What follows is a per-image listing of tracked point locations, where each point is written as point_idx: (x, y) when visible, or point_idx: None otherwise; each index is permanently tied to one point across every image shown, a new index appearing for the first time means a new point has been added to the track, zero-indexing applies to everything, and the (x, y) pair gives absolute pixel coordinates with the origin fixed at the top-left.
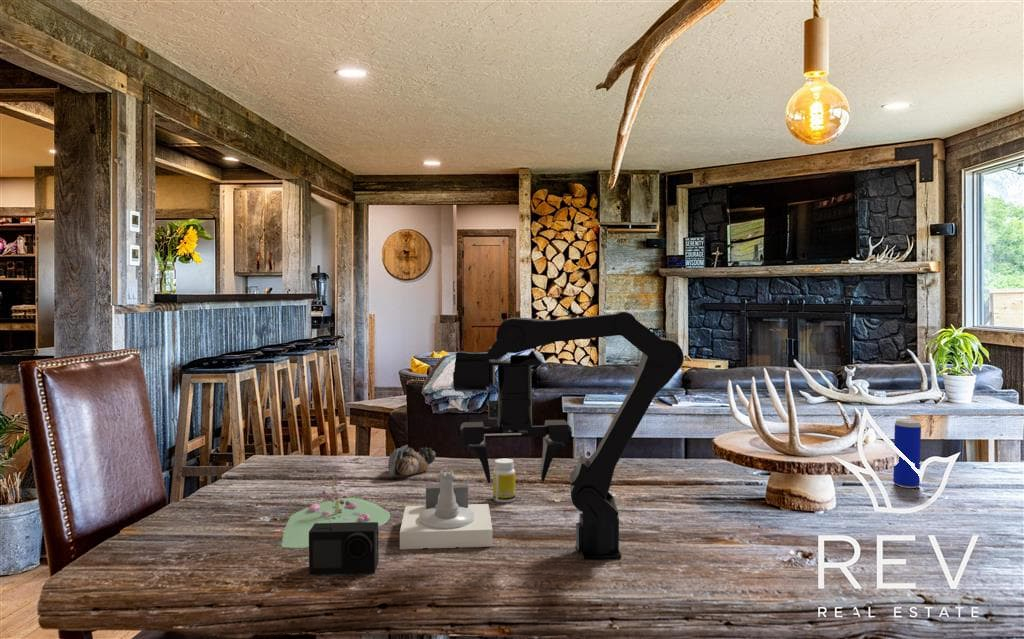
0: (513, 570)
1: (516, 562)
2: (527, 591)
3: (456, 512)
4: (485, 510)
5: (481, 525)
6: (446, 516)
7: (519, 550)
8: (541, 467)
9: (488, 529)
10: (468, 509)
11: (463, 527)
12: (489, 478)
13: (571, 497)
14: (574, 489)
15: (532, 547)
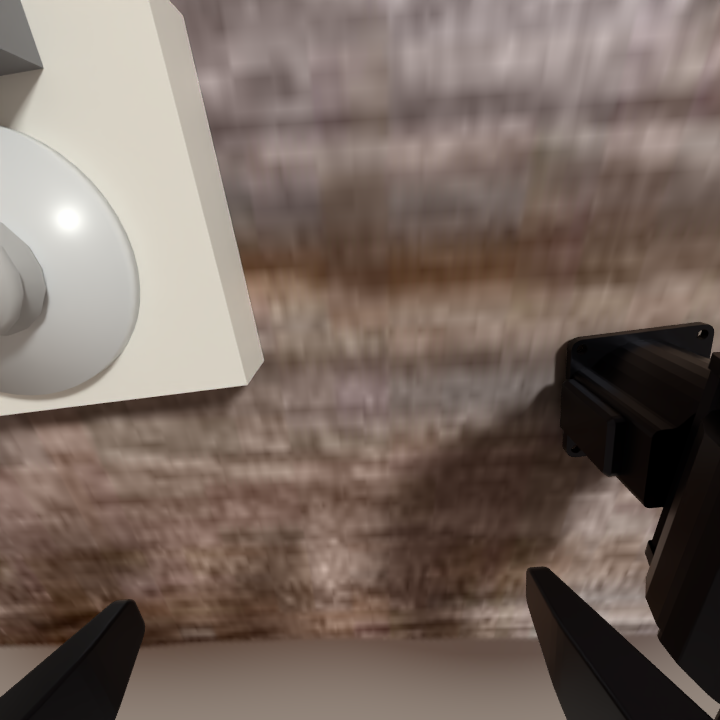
0: (349, 517)
1: (355, 471)
2: (388, 609)
3: (32, 296)
4: (156, 116)
5: (192, 343)
6: (7, 334)
7: (360, 387)
8: (582, 685)
9: (231, 384)
10: (66, 176)
11: (123, 369)
12: (123, 679)
13: (659, 638)
14: (714, 699)
15: (404, 360)
